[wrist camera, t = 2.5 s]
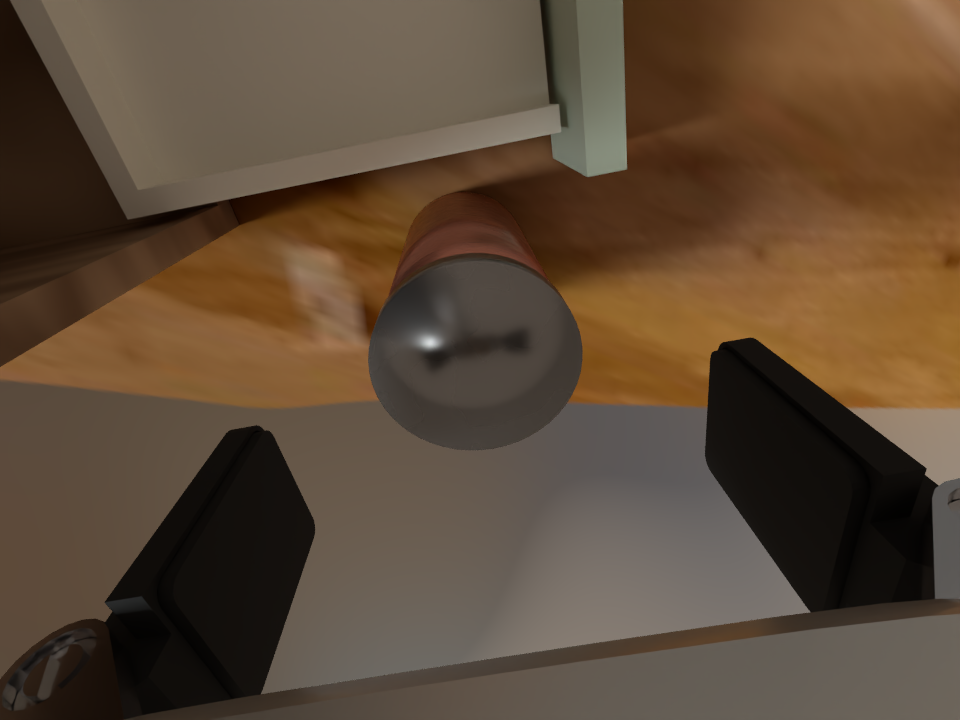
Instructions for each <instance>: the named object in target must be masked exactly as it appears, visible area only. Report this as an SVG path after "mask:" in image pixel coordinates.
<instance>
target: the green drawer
mask: <svg viewBox="0 0 960 720" xmlns="http://www.w3.org/2000/svg"><path fill="white" fill-rule="evenodd" d="M10 1H11V3H12V5H13V7H14V9H15V10H16V12H17V14H18V16H19V18H20V20H21V22H22V23H23V25H24V27H25V29H26V31H27V33H28V35H29V37H30V38H31V40H32V42H33V44H34V46H35V48H36V50H37V51H38V53H39V55H40V57H41V59H42V61H43V63H44V64H45V66H46V68H47V70H48V72H49V74H50V76H51V77H52V79H53V81H54V83H55V85H56V87H57V89H58V91H59V92H60V94H61V96H62V98H63V100H64V102H65V104H66V105H67V107H68V109H69V111H70V113H71V115H72V117H73V118H74V120H75V122H76V124H77V126H78V128H79V130H80V132H81V133H82V135H83V137H84V139H85V141H86V143H87V145H88V146H89V148H90V150H91V152H92V154H93V156H94V158H95V159H96V161H97V163H98V165H99V167H100V169H101V171H102V173H103V174H104V176H105V178H106V180H107V182H108V184H109V186H110V187H111V189H112V191H113V193H114V195H115V197H116V199H117V200H118V202H119V204H120V206H121V208H122V210H123V212H124V213H125V215H126V217H127V219H133V218H138V217H143V216H148V215H153V214H158V213H163V212H168V211H173V210H178V209H183V208H188V207H193V206H198V205H203V204H208V203H213V202H218V201H223V200H228V199H233V198H237V197H242V196H247V195H252V194H257V193H262V192H267V191H272V190H277V189H282V188H287V187H292V186H297V185H302V184H307V183H312V182H317V181H322V180H327V179H332V178H337V177H342V176H347V175H351V174H356V173H361V172H366V171H371V170H376V169H381V168H386V167H391V166H396V165H401V164H406V163H411V162H416V161H421V160H426V159H431V158H436V157H441V156H446V155H451V154H456V153H460V152H465V151H470V150H475V149H480V148H485V147H490V146H495V145H500V144H505V143H510V142H515V141H520V140H525V139H530V138H535V137H540V136H545V135H550V134H551V143H552V154H553V158H554V159H555V160H557V161H559V162H561V163H563V164H564V165H566V166H568V167H570V168H572V169H573V170H575V171H577V172H579V173H581V174H582V175H584V176H586V177H591V176H596V175H601V174H606V173H611V172H616V171H621V170H627V148H626V107H625V67H624V27H623V0H10Z"/></svg>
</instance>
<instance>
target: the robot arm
mask: <svg viewBox="0 0 960 720" xmlns="http://www.w3.org/2000/svg"><path fill="white" fill-rule="evenodd" d="M705 457H706V462H707V465H708V467H709V469H710V471H711V473H712V474H713V475H714V477H715V478H716V480H717V481H718V482H719V484H720V485H721V487H722V488H723V490H724V491H725V492H726V494H727V495H728V497H729V498H730V500H731V501H732V502H733V504H734V505H735V507H736V508H737V509H738V511H739V512H740V514H741V515H742V516H743V518H744V519H745V521H746V522H747V524H748V525H749V526H750V528H751V529H752V531H753V532H754V533H755V535H756V536H757V538H758V539H759V541H760V542H761V543H762V545H763V546H764V548H765V549H766V550H767V552H768V553H769V554H770V556H771V557H772V559H773V560H774V562H775V563H776V564H777V566H778V567H779V569H780V570H781V572H782V573H783V574H784V576H785V577H786V579H787V580H788V581H789V583H790V584H791V586H792V587H793V589H794V590H795V591H796V593H797V594H798V596H799V597H800V598H801V599H802V601H803V603H804V604H805V606H806V607H807V608H808V609H809V610H810V612H811V613H803V614H795V615H787V616H779V617H772V618H764V619H757V620H750V621H744V622H737V623H730V624H724V625H716V626H709V627H703V628H696V629H690V630H682V631H675V632H668V633H661V634H654V635H647V636H640V637H633V638H627V639H620V640H613V641H607V642H599V643H593V644H586V645H579V646H572V647H566V648H560V649H553V650H546V651H539V652H533V653H526V654H520V655H513V656H506V657H499V658H493V659H486V660H480V661H473V662H467V663H460V664H453V665H447V666H440V667H434V668H427V669H420V670H414V671H407V672H401V673H394V674H388V675H382V676H375V677H369V678H363V679H356V680H350V681H343V682H337V683H331V684H324V685H319V686H311V687H305V688H299V689H293V690H286V691H280V692H274V693H267V694H261V692H262V690H263V687H264V684H265V680H266V678H267V675H268V672H269V669H270V666H271V663H272V660H273V657H274V654H275V651H276V648H277V645H278V642H279V640H280V636H281V634H282V630H283V628H284V624H285V621H286V619H287V616H288V613H289V610H290V607H291V604H292V601H293V598H294V595H295V592H296V589H297V586H298V583H299V580H300V577H301V574H302V571H303V568H304V565H305V562H306V559H307V556H308V554H309V551H310V548H311V545H312V542H313V539H314V535H315V524H314V520H313V517H312V515H311V513H310V511H309V509H308V507H307V505H306V503H305V501H304V499H303V496H302V495H301V492H300V490H299V488H298V486H297V484H296V482H295V480H294V478H293V476H292V474H291V471H290V470H289V467H288V466H287V463H286V461H285V459H284V457H283V455H282V453H281V451H280V449H279V446H278V445H277V442H276V440H275V438H274V436H273V435H272V433H271V432H270V431H264V430H263V429H262V428H261V427H260V426H257V425H256V426H251V427H246V428H239V429H234V430H230V431H228V433H226V435H225V436H224V437H223V439H222V440H221V441H220V443H219V444H218V446H217V447H216V448H215V450H214V451H213V453H212V454H211V455H210V457H209V458H208V460H207V461H206V462H205V464H204V465H203V467H202V468H201V469H200V471H199V472H198V473H197V475H196V477H195V478H194V479H193V480H192V482H191V483H190V485H189V486H188V487H187V489H186V490H185V491H184V493H183V494H182V496H181V497H180V498H179V500H178V501H177V503H176V504H175V506H174V507H173V508H172V510H171V511H170V512H169V514H168V515H167V516H166V518H165V519H164V521H163V522H162V523H161V525H160V526H159V527H158V529H157V530H156V532H155V533H154V535H153V536H152V537H151V539H150V540H149V541H148V543H147V544H146V546H145V547H144V548H143V550H142V551H141V553H140V554H139V555H138V557H137V558H136V559H135V561H134V562H133V564H132V565H131V566H130V568H129V569H128V571H127V572H126V573H125V575H124V576H123V577H122V579H121V580H120V582H119V583H118V585H117V586H116V587H115V589H114V590H113V591H112V593H111V594H110V596H109V597H108V598H107V600H106V601H105V603H106V605H107V606H108V607H109V608H110V609H111V610H112V611H113V612H112V613H111V615H110V616H109V618H108V619H107V621H106V622H103V621H100V620H98V619H86V620H81V621H77V622H75V623H72V624H69V625H66V626H64V627H63V628H61V629H59V630H57V631H55V632H53V633H51V634H49V635H48V636H47V637H45V638H44V639H42V640H41V641H40V642H38V643H37V644H36V645H34V646H32V647H31V648H30V649H29V650H28V651H27V652H26V653H25V654H23V655H22V656H21V657H20V658H19V659H18V660H17V661H16V662H15V663H14V664H13V665H12V666H11V667H10V668H9V670H8V671H7V672H6V673H5V674H4V675H3V677H2V678H1V679H0V720H960V478H959V479H955V480H950V481H946V482H944V483H942V484H941V485H939V486H938V485H937V484H936V483H935V482H933V481H932V480H931V479H929V478H928V477H927V476H926V475H925V472H926V468H925V467H924V466H923V465H921V464H920V463H919V462H917V461H916V460H915V459H913V458H912V457H911V456H909V455H908V454H907V453H905V452H904V451H903V450H902V449H900V448H899V447H898V446H896V445H895V444H894V443H892V442H891V441H889V440H888V439H887V438H886V437H884V436H883V435H882V434H880V433H879V432H878V431H876V430H875V429H874V428H872V427H871V426H870V425H868V424H867V423H866V422H865V421H863V420H862V419H861V418H859V417H858V416H856V415H855V414H854V413H853V412H851V411H850V410H849V409H847V408H846V407H845V406H843V405H842V404H841V403H839V402H838V401H837V400H835V399H834V398H833V397H832V396H830V395H829V394H828V393H826V392H825V391H824V390H822V389H821V388H820V387H818V386H817V385H816V384H814V383H813V382H812V381H810V380H809V379H808V378H806V377H805V376H804V375H802V374H801V373H800V372H799V371H797V370H796V369H795V368H793V367H792V366H791V365H789V364H788V363H787V362H785V361H784V360H783V359H781V358H780V357H779V356H777V355H776V354H775V353H773V352H772V351H771V350H769V349H768V348H767V347H765V346H764V345H763V344H762V343H760V342H759V341H758V340H756V339H754V338H745V339H740V340H734V341H728V342H723V343H721V344H720V346H719V348H718V351H714V352H712V354H711V358H710V374H709V392H708V410H707V429H706V446H705Z"/></svg>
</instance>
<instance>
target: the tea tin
mask: <svg viewBox="0 0 960 720" xmlns="http://www.w3.org/2000/svg"><path fill="white" fill-rule="evenodd" d="M368 363H369V372H370V377H371V381H372V385H373V387H374V390H375V392H376V395H377V397H378V399H379V400H380V402H381V403H382V405H383V407H384V408H385V409H386V411H387V412H388V413H389V414H390V416H391V417H392V418H393V419H394V420H395V421H397V422H398V423H399V424H400V425H401V426H402V427H404V428H405V429H406V430H408V431H409V432H411V433H412V434H414V435H416V436H417V437H419V438H421V439H423V440H426V441H428V442H430V443H433V444H436V445H440V446H443V447H447V448H452V449H460V450H484V449H494V448H498V447H502V446H507V445H509V444H512V443H515V442H518V441H520V440H522V439H525V438H527V437H529V436H531V435H532V434H534V433H536V432H537V431H539V430H540V429H542V428H543V427H544V426H546V425H547V424H548V423H549V422H550V421H551V420H553V418H555V417H556V416H557V415H558V414H559V412H560V411H561V410H562V409H563V407H564V406H565V405H566V404H567V402H568V400H569V399H570V397H571V395H572V394H573V391H574V389H575V387H576V385H577V382H578V379H579V375H580V372H581V365H582V343H581V336H580V333H579V329H578V326H577V323H576V321H575V319H574V317H573V315H572V313H571V311H570V309H569V308H568V306H567V304H566V302H565V301H564V299H563V297H562V296H561V295H560V293H559V292H558V290H557V289H556V288H555V287H554V286H553V285H552V284H551V282H550V281H549V280H548V278H547V276H546V275H545V273H544V271H543V269H542V267H541V265H540V264H539V262H538V260H537V258H536V256H535V255H534V253H533V251H532V249H531V247H530V246H529V244H528V242H527V240H526V238H525V236H524V235H523V233H522V231H521V229H520V227H519V226H518V224H517V222H516V220H515V219H514V217H513V216H512V214H511V213H510V212H509V211H508V210H507V209H506V208H505V207H504V206H503V205H501V204H500V203H499V202H497V201H496V200H494V199H492V198H490V197H488V196H485V195H482V194H479V193H473V192H457V193H451V194H447V195H444V196H442V197H440V198H437V199H436V200H434V201H432V202H431V203H429V204H428V205H427V206H426V207H424V209H423V210H422V211H421V212H420V213H419V214H418V215H417V217H416V218H415V220H414V221H413V223H412V225H411V227H410V230H409V233H408V236H407V239H406V242H405V245H404V248H403V251H402V255H401V258H400V261H399V264H398V267H397V271H396V274H395V277H394V280H393V283H392V287H391V290H390V293H389V296H388V298H387V299H386V301H385V303H384V305H383V307H382V309H381V311H380V313H379V316H378V319H377V321H376V324H375V327H374V330H373V333H372V336H371V341H370V346H369V358H368Z"/></svg>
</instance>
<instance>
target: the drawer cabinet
mask: <svg viewBox="0 0 960 720" xmlns="http://www.w3.org/2000/svg"><path fill="white" fill-rule="evenodd" d="M237 226H239V223H238V221H237V219H236V216H235V214H234V212H233V209H232V207H231V205H230V202H229V200H223V201H218V202H213V203H208V204H203V205H198V206H193V207H188V208H183V209H178V210H173V211H168V212H163V213H158V214H153V215H148V216H143V217H138V218H133V219H127V217H126V215H125V213H124V212H123V210H122V208H121V206H120V204H119V202H118V200H117V199H116V197H115V195H114V193H113V191H112V189H111V187H110V186H109V184H108V182H107V180H106V178H105V176H104V174H103V173H102V171H101V169H100V167H99V165H98V163H97V161H96V159H95V158H94V156H93V154H92V152H91V150H90V148H89V146H88V145H87V143H86V141H85V139H84V137H83V135H82V133H81V132H80V130H79V128H78V126H77V124H76V122H75V120H74V118H73V117H72V115H71V113H70V111H69V109H68V107H67V105H66V104H65V102H64V100H63V98H62V96H61V94H60V92H59V91H58V89H57V87H56V85H55V83H54V81H53V79H52V77H51V76H50V74H49V72H48V70H47V68H46V66H45V64H44V63H43V61H42V59H41V57H40V55H39V53H38V51H37V50H36V48H35V46H34V44H33V42H32V40H31V38H30V37H29V35H28V33H27V31H26V29H25V27H24V25H23V23H22V22H21V20H20V18H19V16H18V14H17V12H16V10H15V9H14V7H13V5H12V3H11V1H10V0H0V367H1V366H2V365H4V364H6V363H7V362H9V361H11V360H13V359H14V358H16V357H18V356H19V355H21V354H23V353H24V352H26V351H28V350H29V349H31V348H33V347H35V346H36V345H38V344H40V343H41V342H43V341H45V340H46V339H48V338H50V337H51V336H53V335H55V334H56V333H58V332H60V331H62V330H63V329H65V328H67V327H68V326H70V325H72V324H73V323H75V322H77V321H78V320H80V319H82V318H84V317H85V316H87V315H89V314H90V313H92V312H94V311H95V310H97V309H99V308H100V307H102V306H104V305H105V304H107V303H109V302H111V301H112V300H114V299H116V298H117V297H119V296H121V295H122V294H124V293H126V292H127V291H129V290H131V289H133V288H134V287H136V286H138V285H139V284H141V283H143V282H144V281H146V280H148V279H149V278H151V277H153V276H154V275H156V274H158V273H160V272H161V271H163V270H165V269H166V268H168V267H170V266H171V265H173V264H175V263H176V262H178V261H180V260H182V259H183V258H185V257H187V256H188V255H190V254H192V253H193V252H195V251H197V250H198V249H200V248H202V247H203V246H205V245H207V244H209V243H210V242H212V241H214V240H215V239H217V238H219V237H220V236H222V235H224V234H225V233H227V232H229V231H231V230H232V229H234V228H236V227H237Z"/></svg>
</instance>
